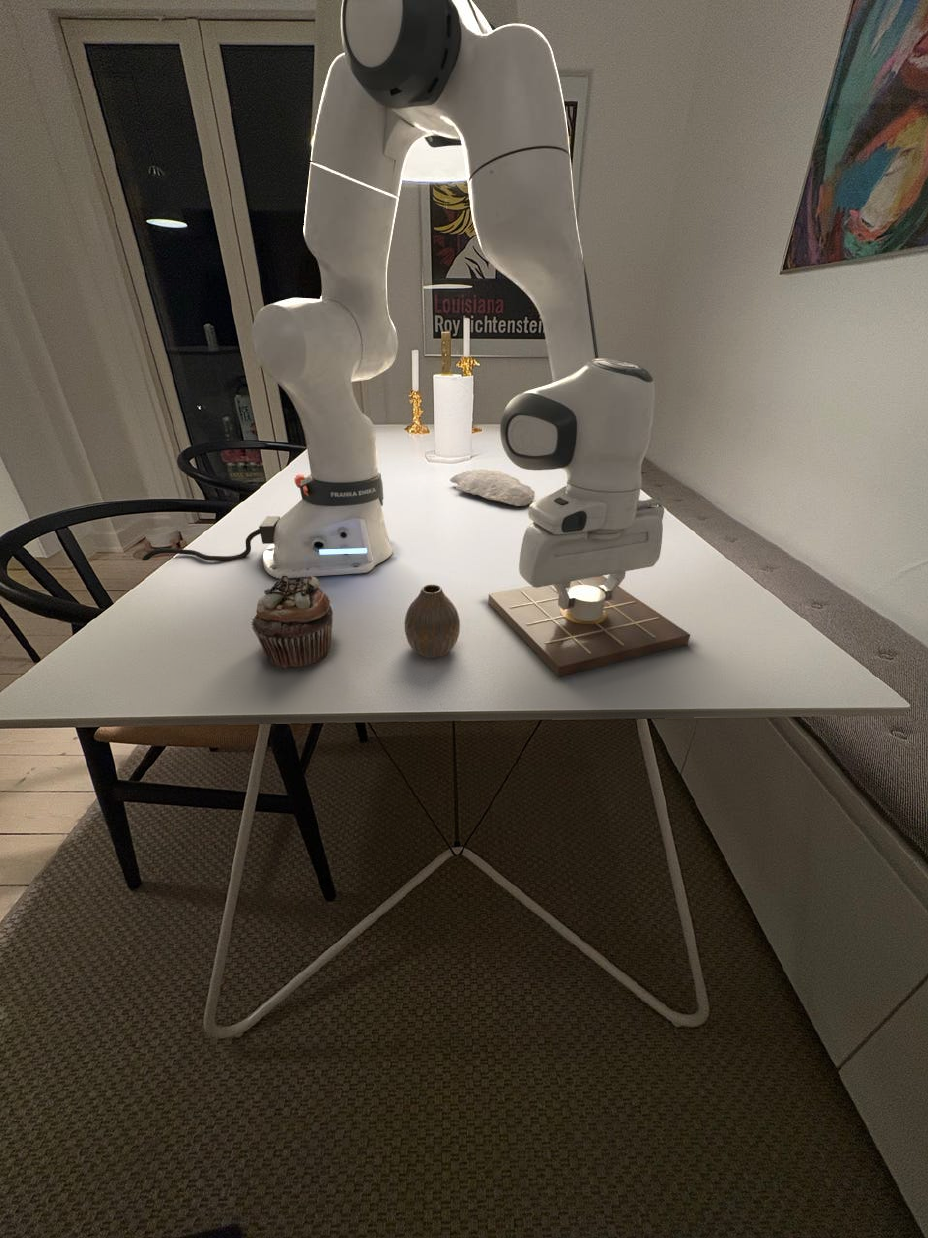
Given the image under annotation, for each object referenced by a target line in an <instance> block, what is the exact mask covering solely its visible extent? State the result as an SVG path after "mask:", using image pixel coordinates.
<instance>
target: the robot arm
mask: <svg viewBox="0 0 928 1238" xmlns="http://www.w3.org/2000/svg"><path fill="white" fill-rule="evenodd" d="M340 33H341V34H340V36H341V44H342V49H343V53H341V54H338V56H336V58H335V59H334V60H333V61H332V62H331V65H330V66H329V69H328V71H327V75H326V79H325V83H324V85H323V90H322V93H321V99H320V102H319V106H318V112H317V117H316V122H315V126H314V132H313V133H314V134H313V140H312V146H311V154H310V155H311V156H310V161H311V162H309V163H310V164H309V173H308V174H309V175H308V184H307V192H306V202H305V213H304V223H303V224H304V225H303V237H304V241H305V243H306V246H307V248H308V250H309V251H310V252H311V254H312V255H313V256H314V257H315V258H316V261H317V264H318V267H319V273H320V280H321V296H320V298H319V299H318V298H305V297H304V298H303V297H291V298H287V299H284V300H279V301H276V302H273V303H270V304H267V305H265V306H263V307H262V308H260V309H259V311H258V312H257V314H256V315H255V318H254V320H253V323H252V331H251V343H252V348H253V350H254V352H253V353H254V355H255V357H256V359H257V362H258V363H259V365H260V367H261V368H262V370H263V371H264V372H265V374H266V375H267V376H268V377H269V378H270V379H271V380H272V381H274V382H276V383H277V384H278V385H279V386H280V387H281V388H282V389H283V390H284V392H285V393H286V395H287V396H288V398H289V399H290V401H291V403H292V405H293V406H294V409H295V411H296V413H297V415H298V418H299V421H300V422H301V426H302V430H303V434H304V439H305V444H306V445H305V446H306V450H307V457H308V463H309V469H310V474H309V475H308V476H305V475H304V474H299V473H298V474H297V475H295V477H294V485H295V486H296V487H297V488H298V489H299V492H300V496H301V499H300V500H299V501H298V502H297V503H296V504H295V505H294V506H292V508H290V509H289V510H288V511H287V512H286V513H285V514H283V515H282V516H281V517H280V515H277V516H271V515H270V516H269V515H268V516H266V517H265V518H264V519H263V521H262V522H261V523H260V525H258V526H259V527H258V529H256V530H254V531H252V532H250V533H249V534H248V535H247V537H246V538H245V550H244V551H243V552H241V553H239V554H237V555H225V556H224V555H207V554H204V553H201V552H200V551H197V550H194V549H193V550H192V549H184V548H172V547H171V548H170V547H161V548H156V549H152V550H151V551H148V552H147V553H146V554H144V556H143V557H142V559H141V561H149V560H150V559H151V558H152V557H154V556H157V555H160V554H177V555H178V554H179V555H189V556H194V557H197V558H199V559H201V560H204V561H209V562H231V561H235V560H240V559H244V558H246V557H247V556H249V554H251V552H252V544H251V542H252V540H253V539H254V538H255V537H257V536H259V535H260V539H261V544H262V545H268V544H269V546H268V547H266V548H265V550H264V551H263V554H262V562H263V563H262V564H263V567H264V568H263V569H264V570H265V572H266V573H267V574H269V576H272V577H274V578H276V579H279V580H281V577H282V576H287V577H288V578H289V579H299V578H304V577H306V578H308V577H309V576H310V577H326V576H339V575H356V574H367V573H369V572H371V571H372V570H373V569H374V568H375V567H376V566H377V565H378V564H380V563H382V562H384V561H385V560H387V559H388V558H390V557H391V556H392V554H393V551H394V548H393V546H392V543H391V541H390V538H389V533H388V531H387V527H386V522H385V517H384V512H383V505H384V486H383V480H382V474H381V473H380V472H379V463H378V449H377V448H378V447H377V435H376V427H375V425H374V423H373V421H372V420H371V418H370V417H369V416H367V415H365V414H364V413H363V412H362V409H361V408H360V406H359V405H358V401H357V399H356V395H355V393H354V390H353V385H352V383H355V382H360V381H367V380H371V379H373V378H375V377H377V376H379V375H380V374H382V373H384V372H385V371H388V370H389V368H391V367H392V366H393V364H394V362H395V360H396V358H397V355H398V350H399V339H398V333H397V329H396V326H395V325H394V323H393V321H392V319H391V317H390V312H389V305H388V288H387V287H388V286H387V285H388V284H387V280H388V279H387V275H388V273H387V272H388V263H389V256H390V255H389V254H390V249H391V243H392V238H393V231H394V225H395V222H396V221H395V220H396V217H397V216H396V215H397V210H398V204H399V197H400V194H401V187H402V182H403V177H404V176H403V175H404V171H405V166H406V162H407V158H408V155H409V153H410V151H411V149H412V148H413V146H414V145H415V144H416V143H417V142H418V141H419V140H421V139H424V140H425V141H426V143H427V144H428V146H430V147H431V148H434V149H435V148H443V147H451V146H452V147H462V151H463V157H464V165H465V173H466V182H467V190H468V197H469V198H468V199H469V206H470V212H471V218H472V223H473V227H474V230H475V234H476V237H477V240H478V243H479V246H480V249H481V251H482V253H483V255H484V257H485V258H486V259H487V260H488V261H489V263H490V264H491V265H492V266H493V267H494V269H496V270H497V271H498V272H499V273H500V274H502V275H504V276H505V277H506V278H508V279H509V280H510V281H511V282H513V283H514V284H515V285H516V286H518V287H519V288H520V289H521V291H523V292H524V293H525V295H527V296H528V298H530V301H531V302H532V303H533V305H534V306H535V308H536V309H537V311H538V314H539V317H540V319H541V323H542V326H543V330H544V331H543V332H544V338H545V343H546V349H547V355H548V362H549V366H550V371H551V377H552V383H549V384H546V385H543V386H539V387H536V388H533V389H529V390H526V391H523V392H522V393H519V394H518V395H515V397H513V398H512V399H511V400H510V401H509V402H508V403H507V405H506V406H505V408H504V410H503V413H502V415H501V420H500V424H499V436H500V441H501V442H500V443H501V446H502V449H503V450H504V452H505V454H506V456H507V457H508V459H509V460H510V461H511V462H512V463H513V464H514V465H515V466H517V467H518V468H519V469H522V470H526V471H552V470H563V471H564V472H566V476H567V479H566V485H565V486H563V487H561V488H559V489H558V490H556V491H555V492H552V493H550V494H548V495H546V496H544V497H542V498H540V499H537V500H535V501H532V502H531V503H530V504H529V506H528V510H527V515H528V518H529V519H530V520H531V521H532V522H531V523H530V524H529V525H528V526H527V527H526V529H525V531H524V533H523V536H522V541H521V546H520V553H519V563H518V571H519V575H520V576H521V578H522V579H523V580H524V581H525V582H526V583H528V584H529V586H530V587H531V586H533V587H535V588H539V587H544V586H549V585H554V587H555V589H556V590H557V592H558V594H559V598H558V605H559V607H561V608H562V609H563V610H565V609H570V608H573V607H574V604H573V603H574V602H575V597H574V596H573V595H571V594H570V593H569V592H567V590H566V588H570V584H571V581H576V580H581V579H587V578H592V577H598V576H607V575H608V577H606V578H607V580H606V582H605V584H604V585H601V586H599V589H601V590H602V591H604V592H605V594H606V598H605V601H608V600H613V599H614V595H615V589H617V587H618V586H619V587H620V585H621V584H622V582H623V581H624V579H625V577H626V572H629V571H630V572H631V571H635V570H640V569H646V568H651V567H654V566H655V565H656V563H657V562H658V561H659V560H660V558H661V557H660V556H661V553H662V544H663V532H664V526H663V520H664V514H665V507H664V506H663V503H662V502H661V501H659V500H658V499H657V498H647V499H644V500H643V499H641V500H640V495H641V488H642V482H643V480H642V479H643V478H642V464H643V462H644V458H645V456H646V454H647V452H648V450H649V446H650V440H651V433H652V429H653V428H652V427H653V421H654V412H655V399H656V394H655V393H656V388H655V382H654V381H655V380H654V377H653V376H652V375H651V373H650V372H649V371H648V370H647V369H645V368H644V367H642V366H641V365H639V364H636V363H632V362H629V361H626V360H625V361H624V360H621V359H612V358H605V357H603V358H601V357H599V350H598V344H597V337H596V329H595V328H596V327H595V322H594V314H593V307H592V300H591V292H590V286H589V281H588V276H587V275H588V274H587V270H586V265H585V261H584V255H583V251H582V245H581V241H580V233H579V228H578V221H577V211H576V203H575V196H574V195H575V194H574V183H573V172H572V162H571V161H572V160H571V149H570V138H569V137H570V136H569V131H568V130H569V129H568V122H567V121H568V120H567V114H566V108H565V102H564V97H563V91H562V86H561V82H560V76H559V72H558V68H557V64H556V60H555V57H554V52H553V50H552V47H551V45H550V43H549V41H548V39H547V38H546V37H545V36H544V34H543V33H542V32H541V31H539V30H538V29H536V28H535V27H533V26H530V25H528V24H523V23H509V24H505V25H502V26H499V27H497V28H496V27H495V26H494V25H493V24H492V23H491V22H490V21H489V20H487V19H486V18H485V16H484V15H483V13H482V12H481V11H480V10H479V8H478V7H477V6H476V4H475V3H474V2H473V1H472V0H342V1H341V8H340Z"/></svg>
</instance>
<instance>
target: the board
mask: <svg viewBox="0 0 928 1238" xmlns="http://www.w3.org/2000/svg"><path fill="white" fill-rule="evenodd" d="M607 578H608V577H605V575H603V576H598V577H592V578H587V579H581V580H576V581H571V584H570V588H566V590H567V592H569V590H570V589H571V588H572V587H574V586H579V585H587V586H593V587H596V588H599V586H601V585H604V584H605V582H606V580H607ZM558 598H559V594H558V592H557V590H556V589H555V587H554V585H549V586H544V587H539V588H535V587H533V586H531V585H530V586H525V587H520V588H515V589H509V590H503V591H498V592H493V593H488V599H487V600H488V602H487V603H488V604H489V605H490V606H491V607H492V609H494V611H496V613H497V614H498V615H499V616H500V617H501V618H502V619H503V620H504V621H505V622H506V623H507V624H508V626H510V628H512V630H514V632H515V633H516V634H517V635H518V636H519V637H520V638H521V639H522V640H523V641H524V642H525V644H527V645H528V646H529V648H530V649H531V650H532V651H533V652H534V653H535V654H536V655H537V656H538V657H539V659H541V660H542V661H543V663H545V665H546V666H547V667H548V668H549V669H550V670H551V671H552V672H553V673H554V674H555V675H556V676H557V678H558V677H564V676H567V675H571V674H575V673H579V672H583V671H587V670H591V669H595V668H599V667H602V666H603V667H604V666H607V665H610V664H614V663H618V662H623V661H626V660H627V661H628V660H630V659H634V658H638V657H642V656H646V655H650V654H654V653H658V652H662V651H665V650H670V649H674V648H677V647H682V646H686V645H688V644H689V642H690V638H691V634H690V633H689V632H688V631H686V630H685V629H683V628H681V627H680V626H679V625H677V624H675V623H674V622H673V621H671V620H669V619H668V618H666V617H665V616H663V614H660V613H659V612H658V611H656V610H655V609H653V608H652V607H650V606H648V605H647V604H646V603H644V602H643V601H641V600H639V599H638V598H637V597H635V596H634V595H632V594H631V593H629V592H628V591H626V590H625V589H623V588H621V587H620V585H619V586H618V587H617V589H615V595H614V599H613V600H608V601H605V604H604V610H603V615H602V617H601V618H600V619H598V620H594V621H582V620H578V619H575V618H573V617H571V616H570V615H569V614H568V613H567V611H566V609H565V610H563V609H562V608H561V607H559V605H558Z"/></svg>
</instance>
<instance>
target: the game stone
mask: <svg viewBox="0 0 928 1238" xmlns="http://www.w3.org/2000/svg"><path fill="white" fill-rule="evenodd" d="M569 593H570V594H571V595H573V596H574V597H575V602H574V603H573V604H574V607H573V608H570V609H566V611H567V613H568V614H569V615H570V616H571V617H573V618H575V619H578V620H582V621H594V620H598V619H600V618H601V617H602V615H603V610H604V604H605V598H606V594H605V592H604V591H602V590H601V589H599V588H596V587H593V586H587V585H579V586H574V587H572V588H571V589H570V590H569Z"/></svg>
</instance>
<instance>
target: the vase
mask: <svg viewBox="0 0 928 1238" xmlns="http://www.w3.org/2000/svg"><path fill="white" fill-rule="evenodd" d="M460 621H461V619H460V617H459V612H458V609H457V608H456V606H455V604H454V603H453V602H452V600H450V599H449V597H448V596H447V595H446V594H445V592H444V591H443V588H442V587H441V586H440V585H437V584H427V585H424V586H423V587H421V589H420V592H419V594H418V595H417V596H416V598H415V599H413V601H412V602H411V603H410V605H409V606H408V608H407V611H406V614H405V617H404V633H405V637H406V641H407V643H408V645H409V646H410V648H411V649H412V650H413V651H414V652H415V653H417V654H418V655H419V656H422V657H424V658H428V659H436V658H437V659H438V658H441V657H443V656H445V655H447V654H449V652H451V651H452V649H453V648H454V647H455V645H456V644H457V643H458V639H459V636H460V631H461V630H460V628H461V622H460Z"/></svg>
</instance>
